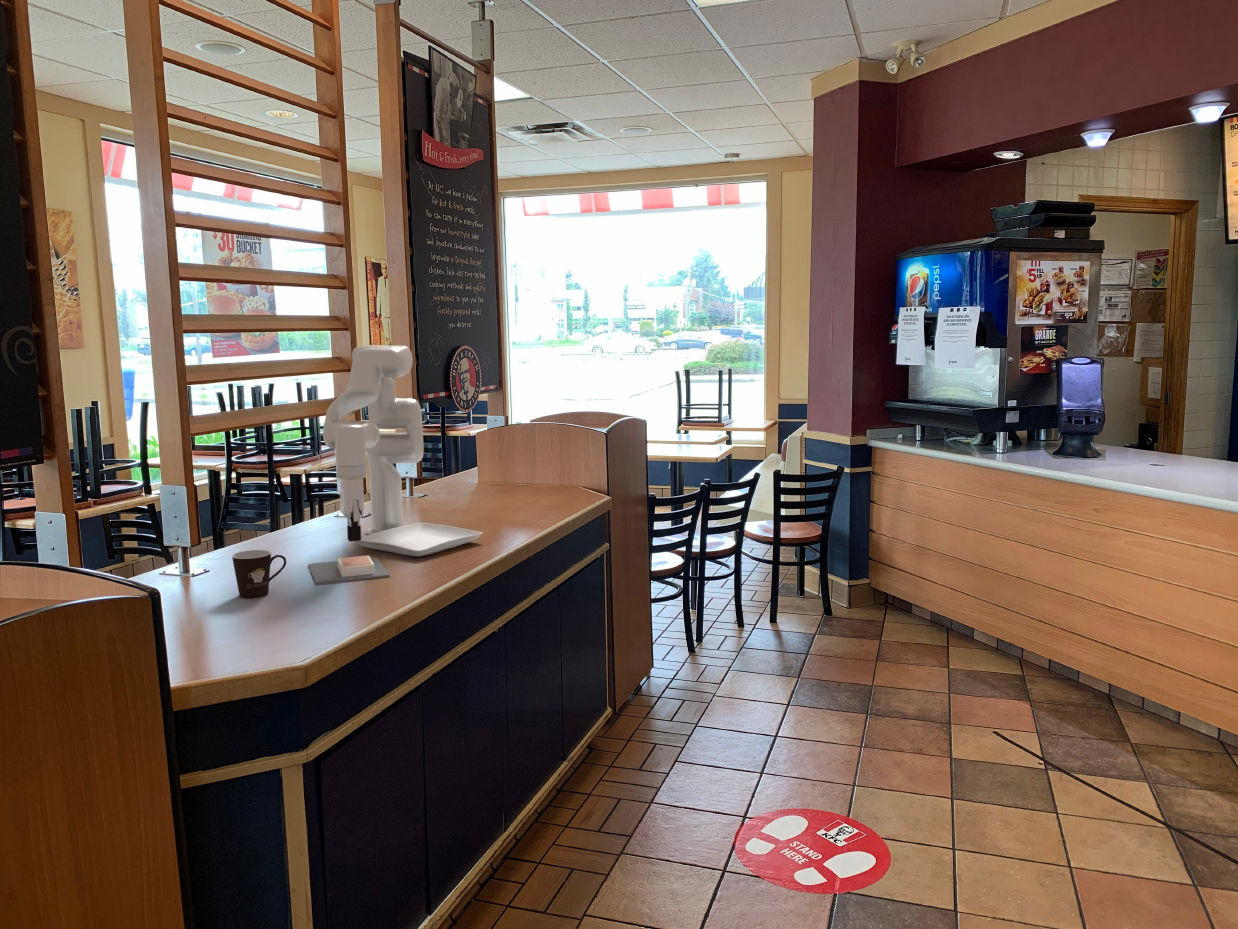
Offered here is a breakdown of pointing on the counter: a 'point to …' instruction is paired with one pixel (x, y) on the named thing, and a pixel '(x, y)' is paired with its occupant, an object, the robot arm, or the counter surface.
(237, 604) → the counter surface
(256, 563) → the coffee mug
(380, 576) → the mat
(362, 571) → the tile
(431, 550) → the square plate
